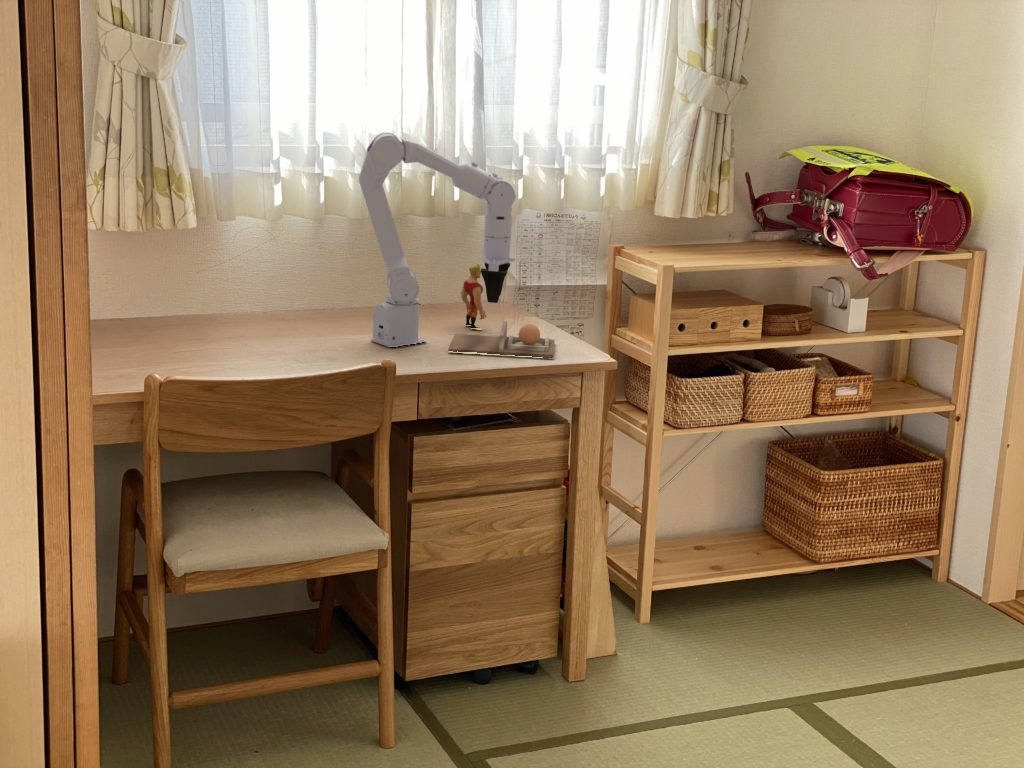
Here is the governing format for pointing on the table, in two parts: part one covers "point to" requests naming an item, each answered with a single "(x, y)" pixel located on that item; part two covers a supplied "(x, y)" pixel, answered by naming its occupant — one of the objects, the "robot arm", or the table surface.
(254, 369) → the table surface
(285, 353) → the table surface
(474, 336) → the board
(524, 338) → the ball
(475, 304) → the action figure
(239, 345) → the table surface
